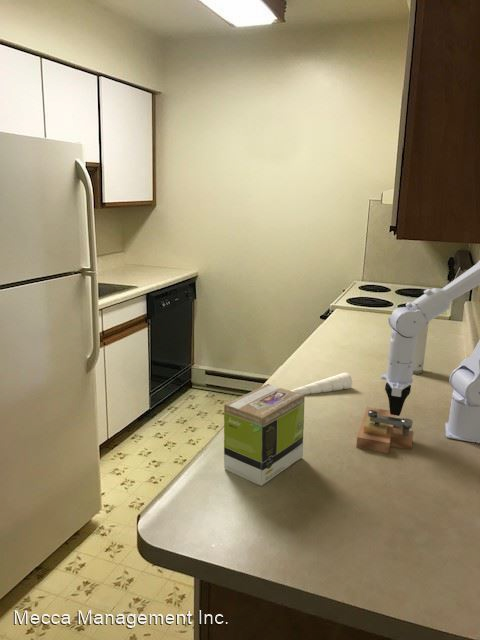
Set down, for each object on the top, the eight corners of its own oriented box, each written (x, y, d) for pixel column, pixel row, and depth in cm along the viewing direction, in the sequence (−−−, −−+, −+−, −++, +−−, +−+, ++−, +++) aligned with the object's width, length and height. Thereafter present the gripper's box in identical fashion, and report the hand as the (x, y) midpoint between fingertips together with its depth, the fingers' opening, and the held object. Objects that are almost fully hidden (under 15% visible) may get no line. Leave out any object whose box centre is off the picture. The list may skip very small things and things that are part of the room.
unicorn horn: (271, 393, 142) (272, 377, 141) (344, 385, 150) (345, 370, 149) (278, 400, 138) (278, 383, 137) (352, 391, 146) (354, 375, 145)
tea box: (265, 443, 113) (268, 381, 109) (303, 458, 107) (307, 394, 103) (221, 469, 102) (223, 402, 98) (261, 488, 96) (264, 417, 92)
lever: (412, 425, 114) (413, 416, 113) (411, 429, 112) (412, 420, 111) (368, 417, 117) (369, 408, 117) (366, 421, 115) (367, 412, 115)
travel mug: (425, 375, 160) (432, 314, 155) (403, 373, 161) (410, 312, 156) (422, 368, 166) (429, 310, 161) (401, 366, 167) (407, 308, 162)
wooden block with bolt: (388, 425, 118) (389, 418, 117) (386, 436, 112) (386, 428, 112) (366, 421, 119) (367, 414, 119) (363, 432, 114) (364, 424, 114)
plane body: (413, 423, 125) (415, 407, 124) (410, 457, 108) (412, 439, 107) (366, 415, 129) (367, 400, 128) (356, 447, 112) (357, 429, 111)
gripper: (385, 348, 123) (380, 400, 127) (380, 366, 110) (374, 423, 113) (416, 352, 121) (409, 404, 124) (413, 371, 108) (407, 429, 111)
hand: (395, 414), depth 119 cm, fingers closed
